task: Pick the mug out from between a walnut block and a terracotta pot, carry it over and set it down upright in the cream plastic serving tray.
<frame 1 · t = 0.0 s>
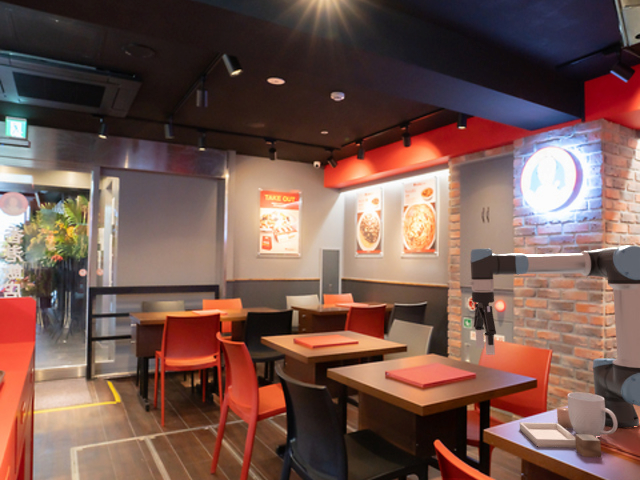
hand: (485, 351, 159), 28 cm above the table, fingers open, 13 cm apart
walnut block: (588, 454, 137), on the table
tray: (548, 438, 150), on the table
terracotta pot: (565, 426, 161), on the table
mug: (591, 437, 151), on the table
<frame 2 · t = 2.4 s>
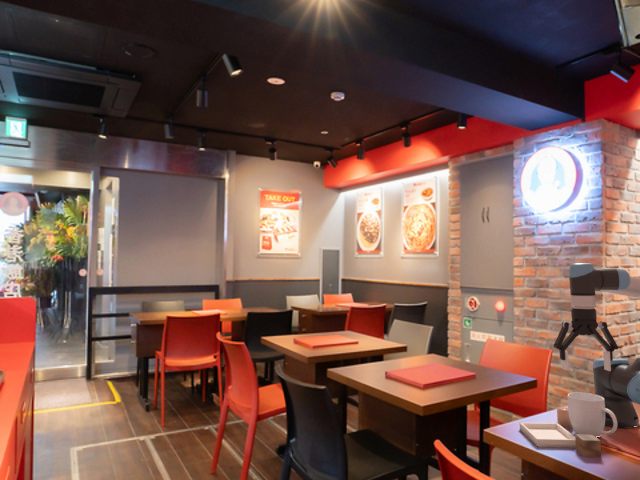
hand: (586, 370, 153), 22 cm above the table, fingers open, 13 cm apart
nothing on the table moved.
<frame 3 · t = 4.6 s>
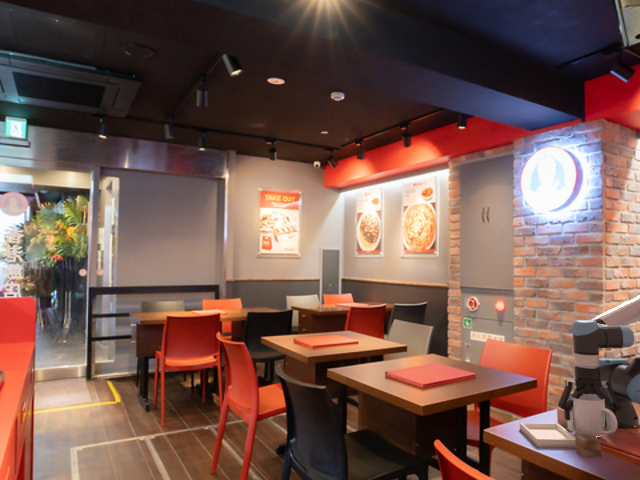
hand: (590, 430, 151), 2 cm above the table, fingers open, 12 cm apart
mug: (591, 437, 151), on the table, touching gripper
everything else where it was.
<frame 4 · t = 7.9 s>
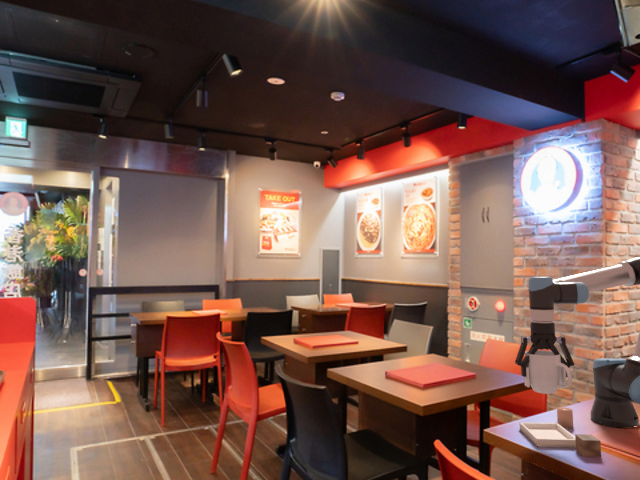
hand: (545, 386, 151), 17 cm above the table, fingers closed on mug, 11 cm apart
mug: (547, 392, 151), point 15 cm above the table, touching gripper
everything else where it was.
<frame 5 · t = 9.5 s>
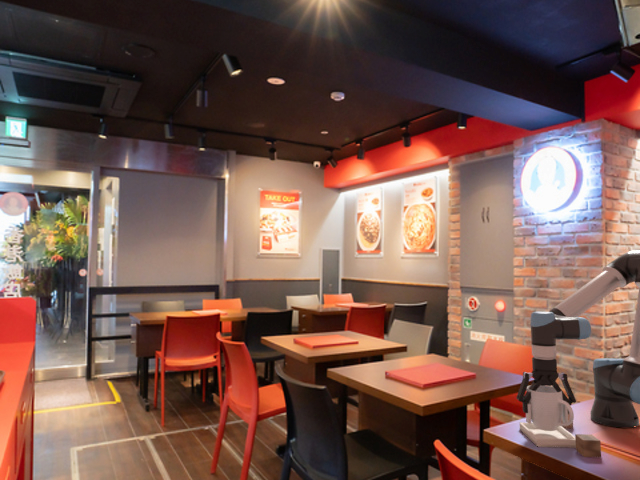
hand: (546, 423, 150), 5 cm above the table, fingers closed on mug, 11 cm apart
mug: (549, 429, 150), point 3 cm above the table, touching gripper
everything else where it was.
when the fingers open (4 cm above the table, at t = 10.8 s): mug stays where it is, resting on tray.
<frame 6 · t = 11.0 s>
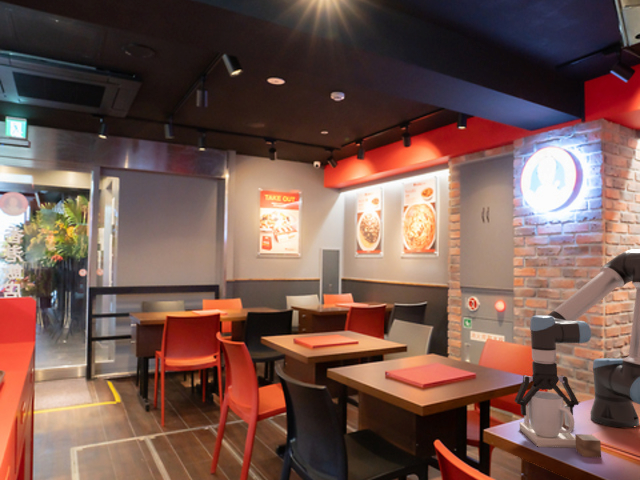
hand: (547, 425, 150), 4 cm above the table, fingers open, 13 cm apart
mug: (549, 436, 150), point 1 cm above the table, touching tray
everything else where it was.
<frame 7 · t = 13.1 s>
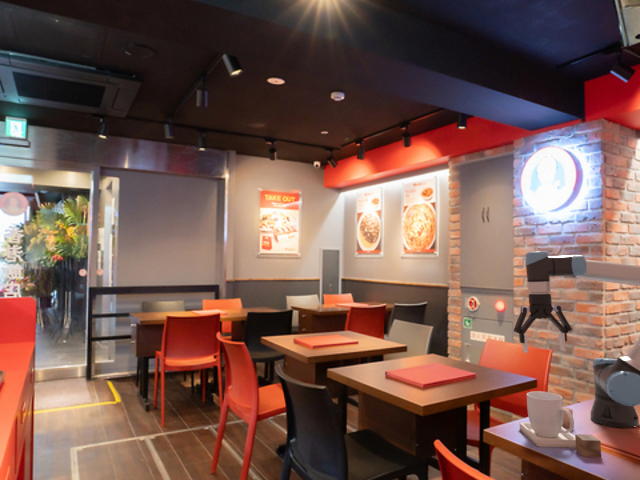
hand: (544, 351, 163), 27 cm above the table, fingers open, 13 cm apart
nothing on the table moved.
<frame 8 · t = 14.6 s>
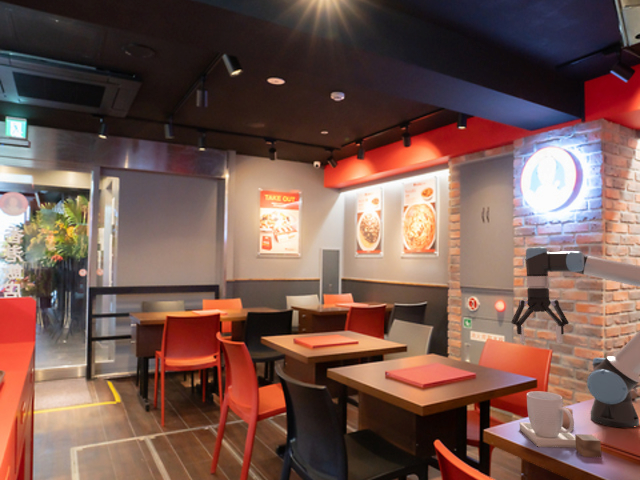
hand: (540, 343, 170), 29 cm above the table, fingers open, 13 cm apart
nothing on the table moved.
at the end: mug 0.5 cm from the tray (horizontally); mug tilted 0°; the gripper is holding nothing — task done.
